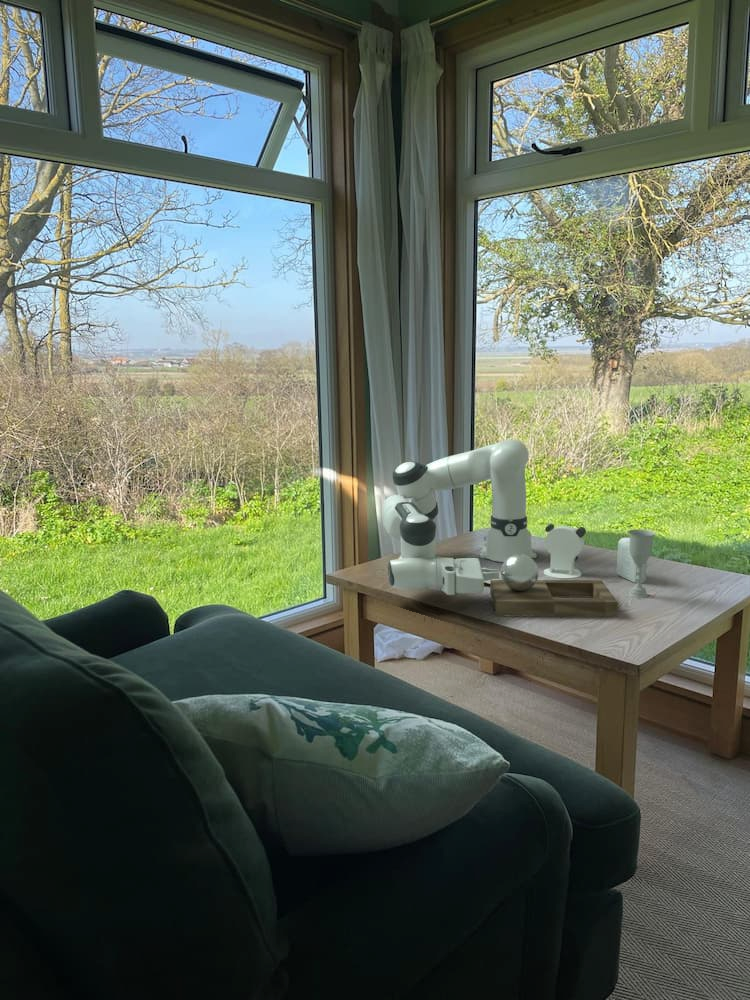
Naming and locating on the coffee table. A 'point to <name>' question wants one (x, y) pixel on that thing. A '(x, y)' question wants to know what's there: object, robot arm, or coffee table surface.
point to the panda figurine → (564, 550)
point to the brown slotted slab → (554, 599)
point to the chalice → (640, 556)
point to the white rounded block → (628, 562)
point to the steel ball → (519, 572)
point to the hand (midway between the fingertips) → (498, 574)
